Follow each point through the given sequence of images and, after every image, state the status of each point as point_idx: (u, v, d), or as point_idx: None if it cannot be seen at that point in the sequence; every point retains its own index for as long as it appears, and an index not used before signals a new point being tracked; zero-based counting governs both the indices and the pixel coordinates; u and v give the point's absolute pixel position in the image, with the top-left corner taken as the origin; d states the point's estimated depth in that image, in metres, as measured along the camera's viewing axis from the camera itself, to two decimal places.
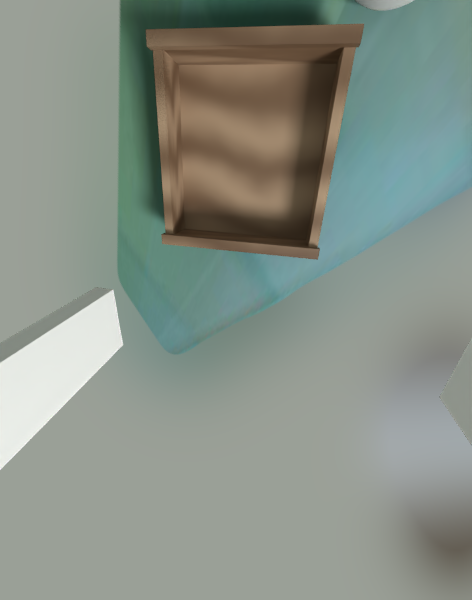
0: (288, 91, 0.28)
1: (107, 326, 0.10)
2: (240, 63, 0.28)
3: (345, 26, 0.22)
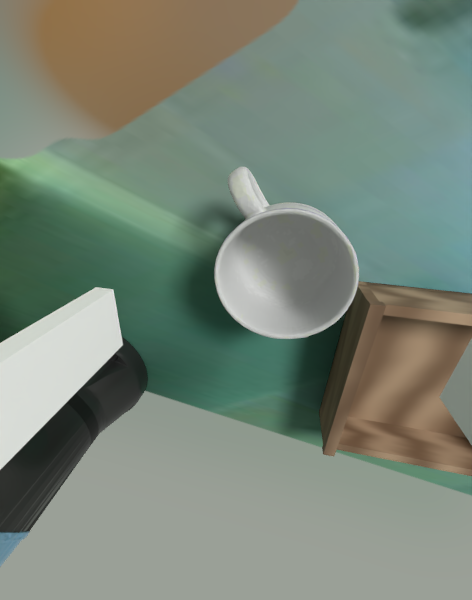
0: (375, 335, 0.28)
1: (107, 326, 0.10)
2: None
3: (367, 319, 0.22)
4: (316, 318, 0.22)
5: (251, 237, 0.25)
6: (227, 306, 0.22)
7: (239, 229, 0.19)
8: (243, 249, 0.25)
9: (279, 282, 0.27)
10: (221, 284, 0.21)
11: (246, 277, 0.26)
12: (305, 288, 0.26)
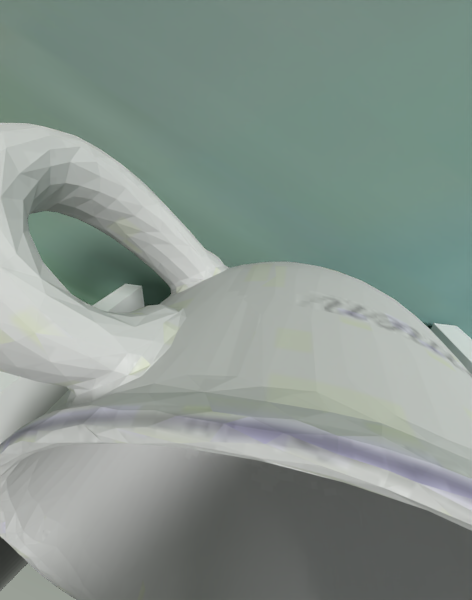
0: None
1: None
2: None
3: None
4: None
5: None
6: (83, 594, 0.07)
7: (12, 460, 0.03)
8: None
9: None
10: (53, 541, 0.06)
11: None
12: None
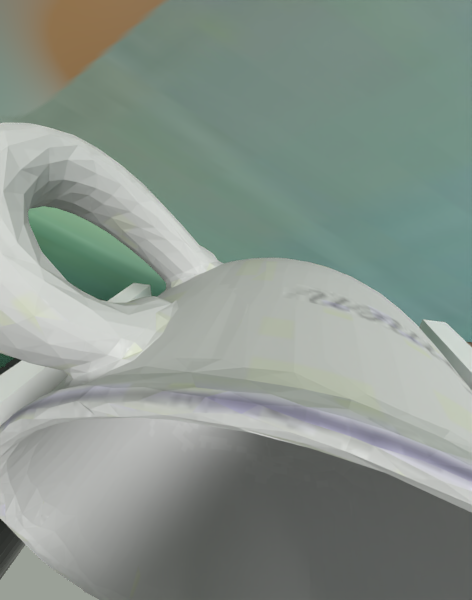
0: None
1: None
2: None
3: None
4: None
5: None
6: (80, 578, 0.07)
7: (13, 439, 0.04)
8: None
9: None
10: (51, 526, 0.07)
11: None
12: None
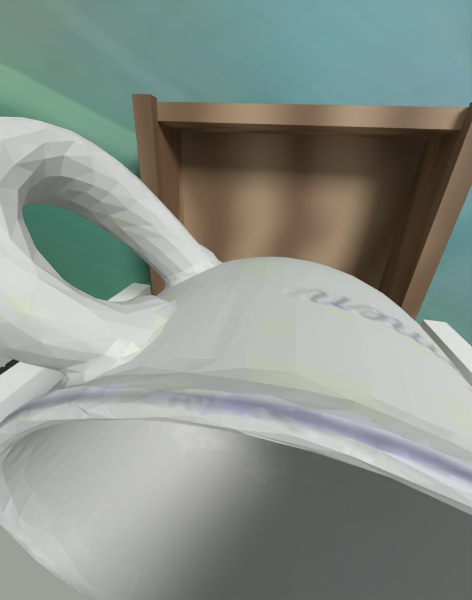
0: (208, 194, 0.22)
1: None
2: None
3: (137, 122, 0.16)
4: None
5: None
6: (78, 580, 0.07)
7: (7, 441, 0.04)
8: None
9: None
10: (48, 528, 0.06)
11: None
12: None
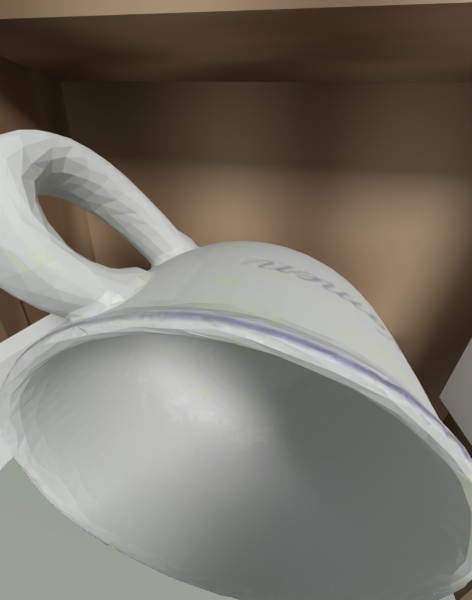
0: None
1: None
2: None
3: None
4: (318, 540, 0.09)
5: None
6: (80, 518, 0.08)
7: (26, 369, 0.05)
8: None
9: (241, 390, 0.13)
10: (55, 470, 0.08)
11: (171, 382, 0.13)
12: (292, 407, 0.12)
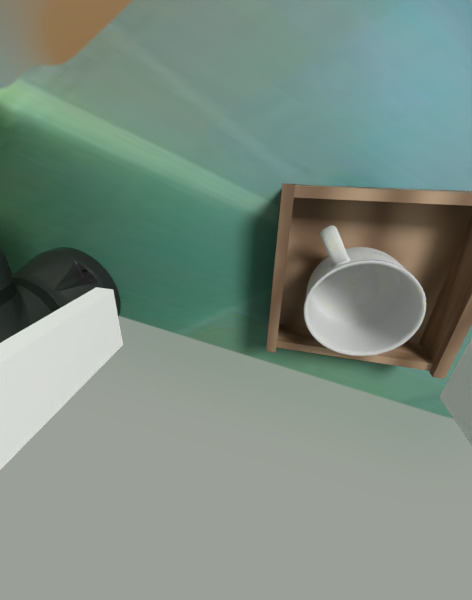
0: (308, 237, 0.31)
1: (107, 326, 0.10)
2: (284, 278, 0.33)
3: (282, 200, 0.25)
4: (383, 339, 0.28)
5: None
6: (311, 330, 0.28)
7: (330, 273, 0.24)
8: None
9: (344, 307, 0.32)
10: (307, 313, 0.27)
11: (316, 302, 0.32)
12: (366, 311, 0.31)
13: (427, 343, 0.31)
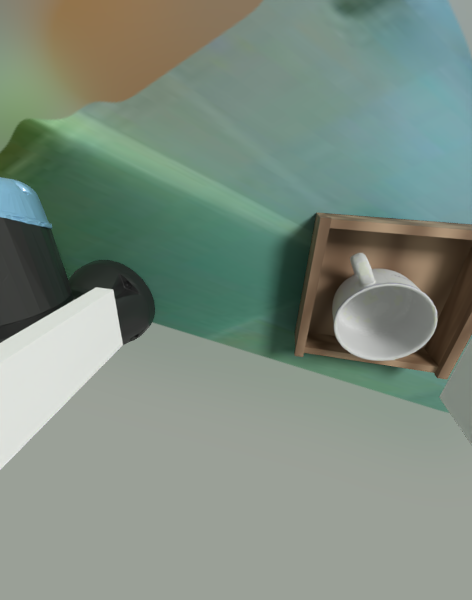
0: (334, 257, 0.35)
1: (107, 326, 0.10)
2: None
3: (319, 230, 0.30)
4: (398, 346, 0.33)
5: None
6: (339, 338, 0.32)
7: (359, 293, 0.29)
8: None
9: (362, 317, 0.37)
10: (336, 324, 0.32)
11: (339, 313, 0.37)
12: (382, 322, 0.37)
13: (432, 349, 0.37)
